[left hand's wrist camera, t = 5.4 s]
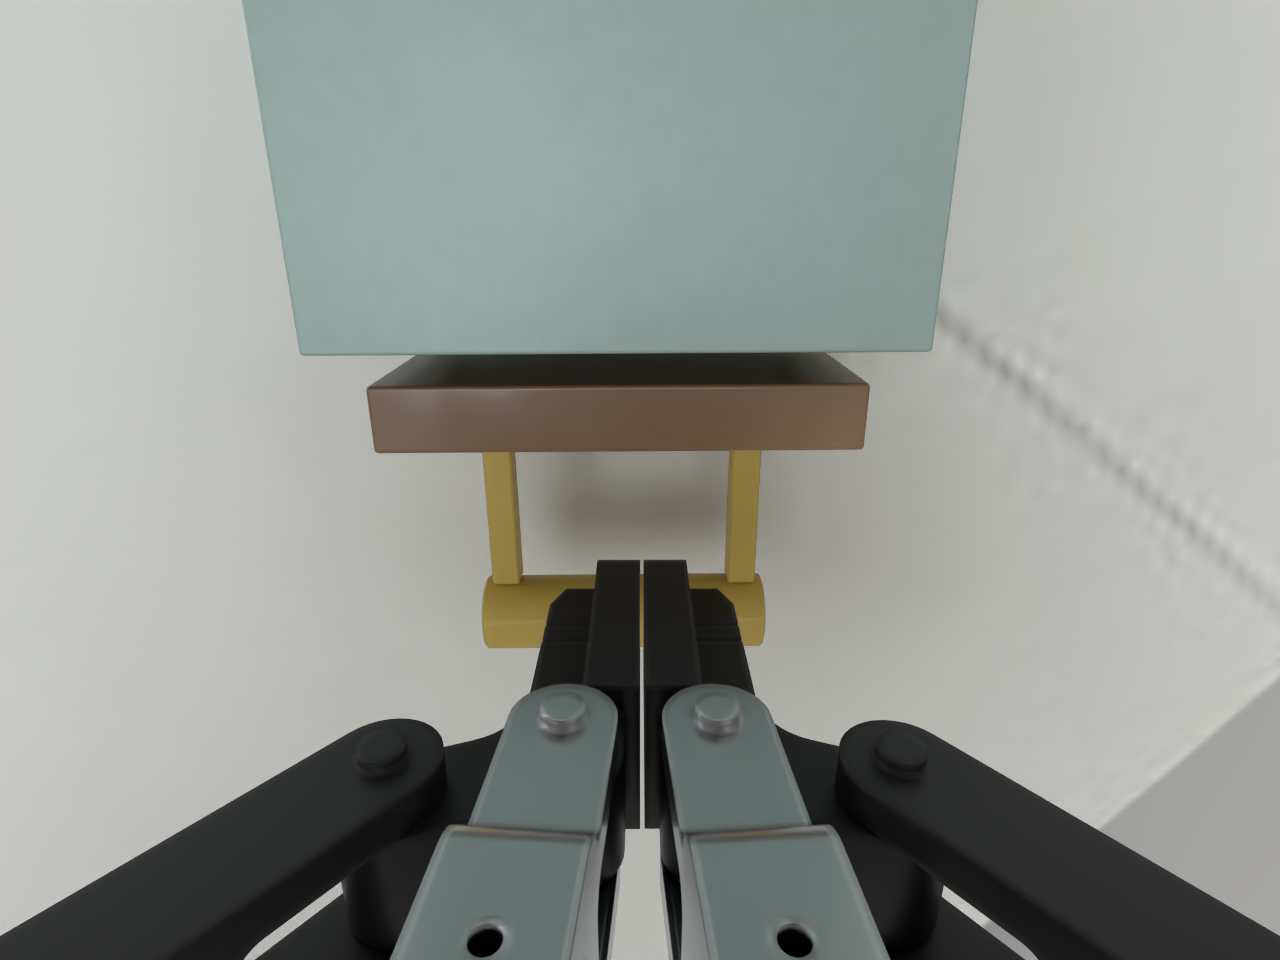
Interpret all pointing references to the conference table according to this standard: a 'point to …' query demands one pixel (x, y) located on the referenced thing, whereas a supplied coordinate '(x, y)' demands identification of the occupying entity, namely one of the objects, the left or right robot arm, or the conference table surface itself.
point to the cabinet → (612, 172)
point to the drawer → (616, 443)
